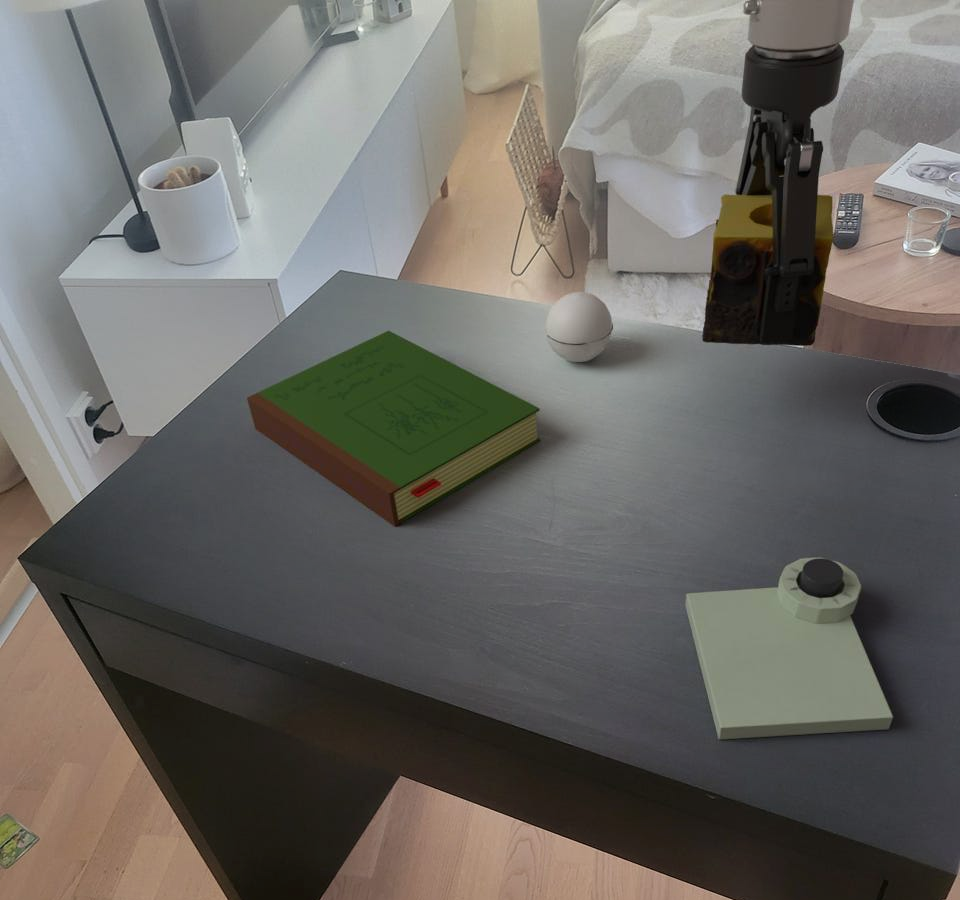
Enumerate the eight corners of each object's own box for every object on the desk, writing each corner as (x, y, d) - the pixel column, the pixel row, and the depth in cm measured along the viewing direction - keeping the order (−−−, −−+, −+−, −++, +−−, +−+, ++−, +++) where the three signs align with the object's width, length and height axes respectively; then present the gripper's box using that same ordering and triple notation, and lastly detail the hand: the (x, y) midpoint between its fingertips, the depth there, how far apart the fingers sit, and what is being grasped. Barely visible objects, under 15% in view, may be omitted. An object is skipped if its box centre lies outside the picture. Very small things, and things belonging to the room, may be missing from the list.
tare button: (833, 571, 75) (837, 556, 74) (844, 597, 73) (848, 582, 72) (795, 574, 75) (798, 559, 74) (805, 600, 73) (808, 585, 72)
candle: (701, 345, 88) (709, 238, 81) (709, 295, 95) (717, 192, 88) (815, 349, 86) (834, 239, 79) (815, 298, 93) (833, 192, 86)
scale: (840, 582, 78) (847, 554, 76) (902, 728, 67) (913, 701, 65) (682, 593, 78) (684, 566, 76) (718, 740, 68) (723, 713, 65)
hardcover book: (255, 428, 101) (246, 397, 98) (393, 360, 109) (388, 330, 106) (399, 530, 87) (394, 497, 84) (545, 443, 95) (544, 411, 92)
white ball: (532, 361, 107) (529, 299, 101) (575, 335, 110) (575, 273, 105) (600, 390, 101) (601, 326, 96) (644, 362, 105) (647, 298, 99)
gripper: (717, 13, 83) (698, 260, 98) (783, 95, 66) (747, 376, 82) (804, 4, 83) (771, 253, 98) (892, 84, 66) (836, 368, 82)
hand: (760, 309), depth 90 cm, fingers closed on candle, 11 cm apart
